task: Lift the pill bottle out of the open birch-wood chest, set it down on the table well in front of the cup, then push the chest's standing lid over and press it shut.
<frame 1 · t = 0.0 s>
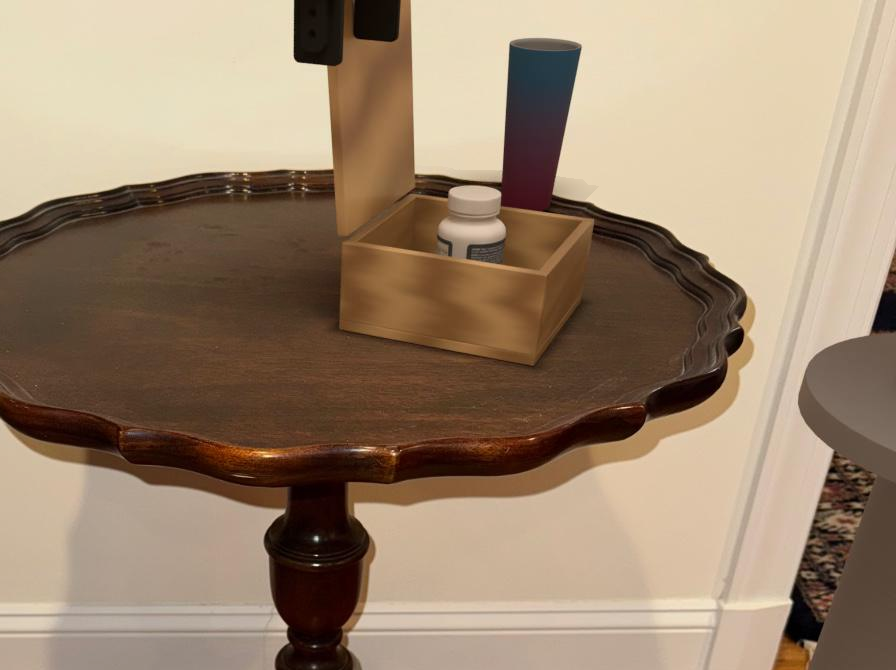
hand: (348, 51, 75), 20 cm above the table, tool pointing down, fingers open, 9 cm apart
chest: (463, 315, 91), on the table
pill bottle: (464, 308, 90), point 1 cm above the table, touching chest
lid: (374, 99, 85), point 15 cm above the table, hinge at 95.9°, touching gripper
cup: (524, 206, 116), on the table
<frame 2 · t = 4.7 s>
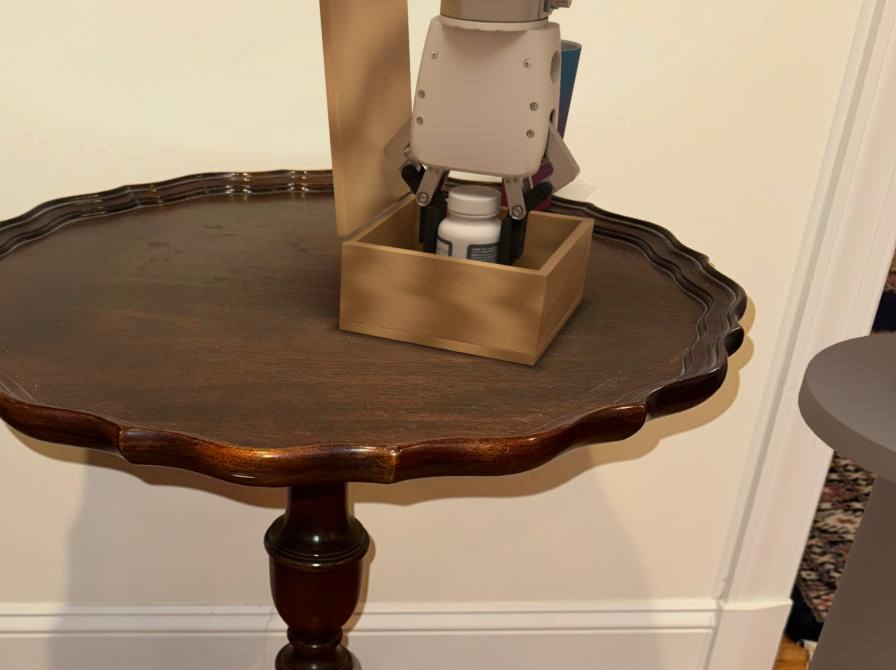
hand: (469, 257, 88), 5 cm above the table, tool pointing down, fingers closed on pill bottle, 5 cm apart
pill bottle: (464, 307, 90), point 1 cm above the table, touching chest, gripper
lid: (372, 99, 85), point 15 cm above the table, hinge at 97.0°
everything else where it was.
when the fingers open (4 cm above the table, at t = 12.4 s): pill bottle stays where it is, on the table.
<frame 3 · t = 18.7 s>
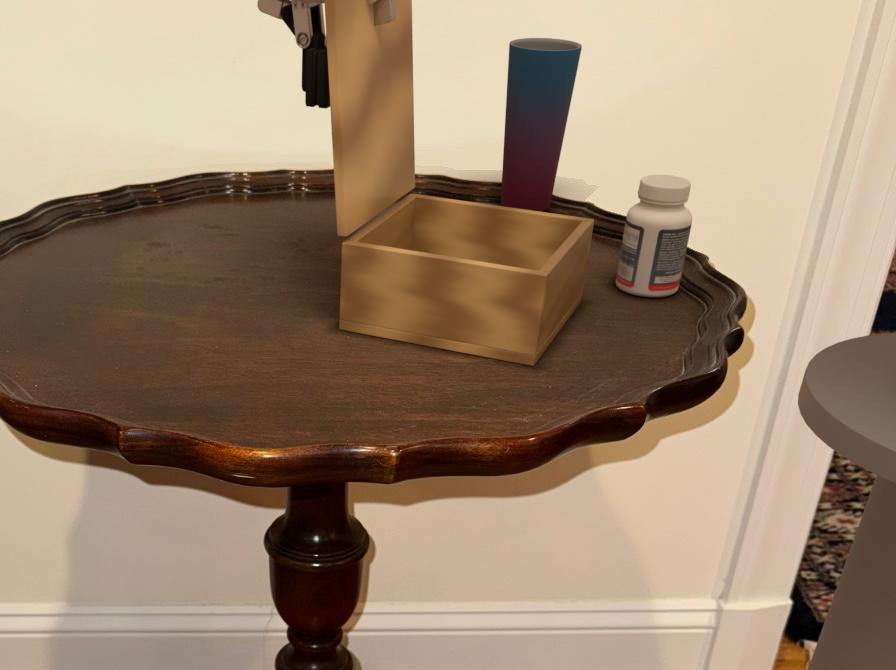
hand: (323, 103, 86), 15 cm above the table, tool pointing down, fingers closed
pill bottle: (645, 290, 96), on the table
lid: (374, 99, 85), point 15 cm above the table, hinge at 95.5°, touching gripper
everything else where it was.
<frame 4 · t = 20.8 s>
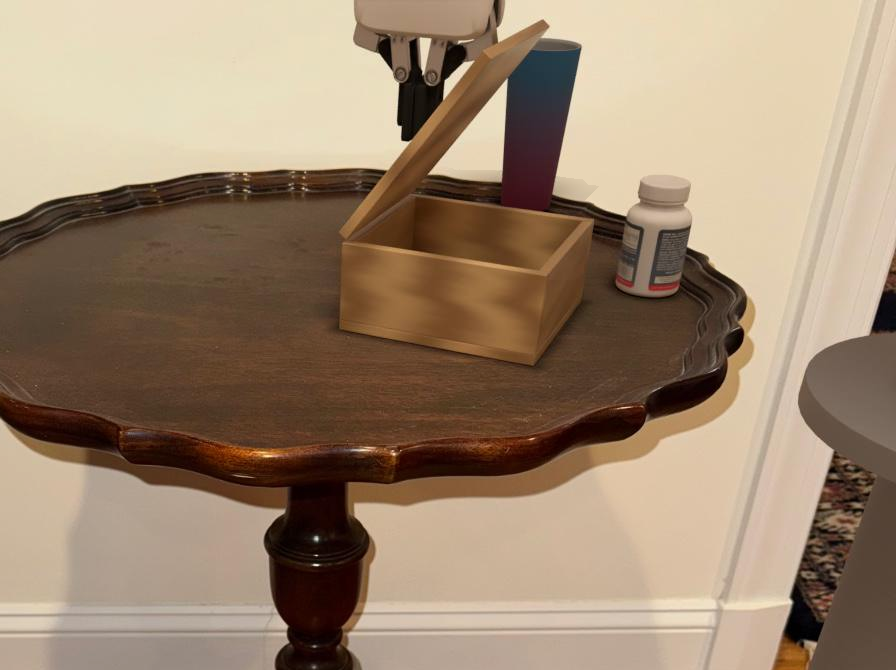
hand: (417, 138, 85), 13 cm above the table, tool pointing down, fingers closed
lid: (444, 129, 84), point 14 cm above the table, hinge at 53.5°
everything else where it was.
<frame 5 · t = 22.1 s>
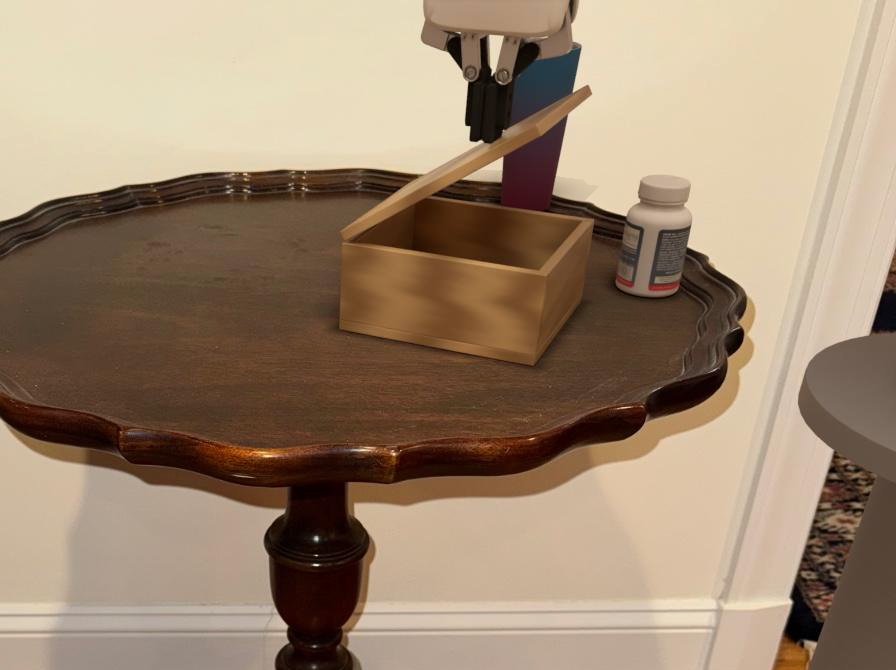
hand: (485, 138, 83), 14 cm above the table, tool pointing down, fingers closed
lid: (467, 162, 84), point 12 cm above the table, hinge at 33.1°
everything else where it was.
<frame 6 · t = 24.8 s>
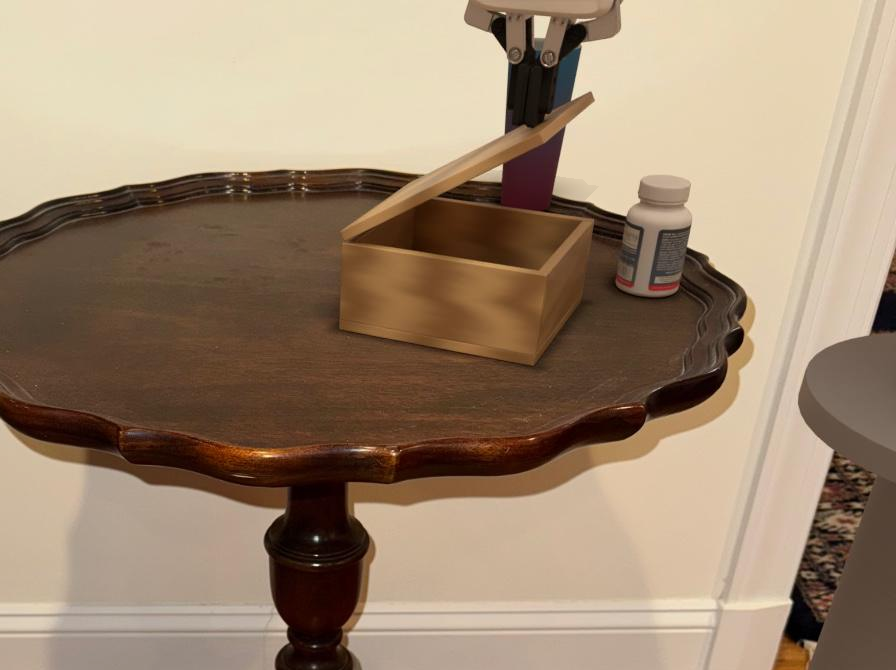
hand: (528, 122, 81), 15 cm above the table, tool pointing down, fingers closed
lid: (468, 165, 84), point 12 cm above the table, hinge at 31.3°, touching gripper
everything else where it was.
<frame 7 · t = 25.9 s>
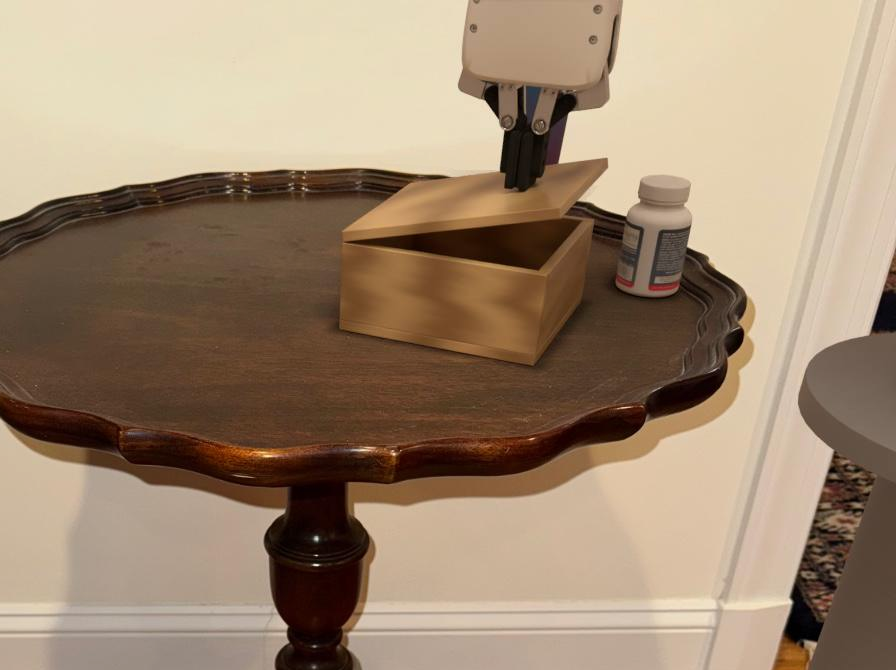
hand: (520, 185, 83), 11 cm above the table, tool pointing down, fingers closed
lid: (477, 199, 85), point 9 cm above the table, hinge at 13.7°, touching gripper
everything else where it was.
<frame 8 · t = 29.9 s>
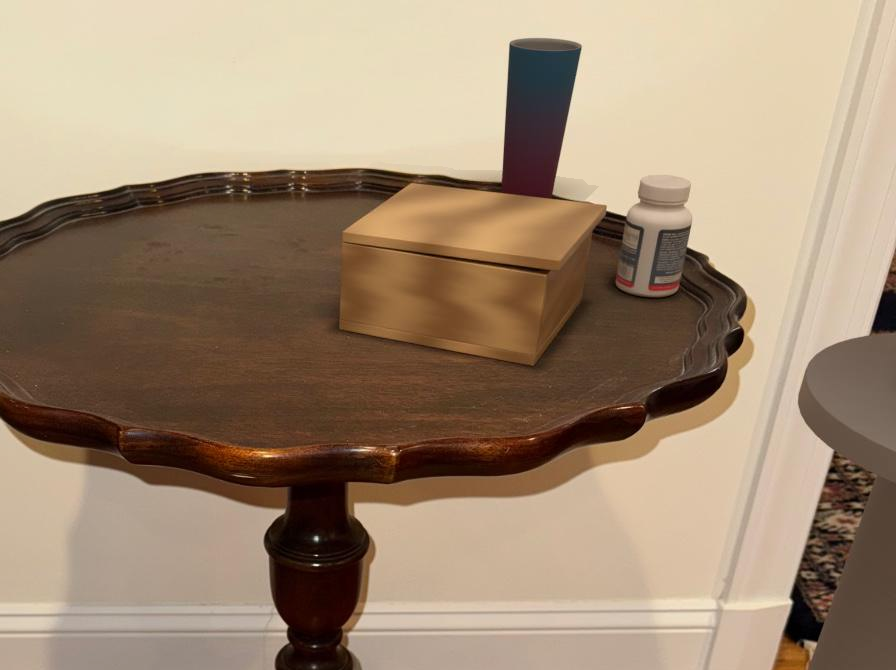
lid: (478, 223, 86), point 7 cm above the table, hinge at 1.2°
everything else where it was.
at the end: pill bottle 0.1 cm from the target spot on the table beside the cup, on the table; pill bottle tilted 0°; lid at +1° (first picture: +96°) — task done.
